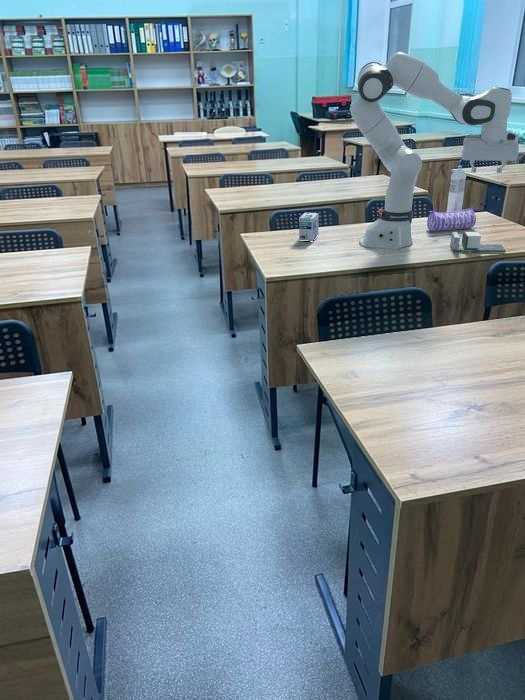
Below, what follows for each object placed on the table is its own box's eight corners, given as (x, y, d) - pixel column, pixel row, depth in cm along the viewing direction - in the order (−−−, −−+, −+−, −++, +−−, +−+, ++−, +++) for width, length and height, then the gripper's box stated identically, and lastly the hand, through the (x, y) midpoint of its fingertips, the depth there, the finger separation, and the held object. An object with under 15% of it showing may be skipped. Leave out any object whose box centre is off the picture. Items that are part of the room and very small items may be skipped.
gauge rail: (452, 252, 211) (454, 237, 208) (449, 246, 218) (451, 232, 215) (505, 253, 208) (508, 237, 205) (500, 247, 215) (503, 232, 212)
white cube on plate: (465, 249, 210) (466, 236, 207) (461, 242, 217) (463, 231, 215) (479, 249, 209) (481, 236, 206) (475, 243, 216) (477, 231, 214)
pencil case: (465, 225, 248) (468, 204, 243) (477, 229, 240) (480, 209, 235) (423, 229, 243) (425, 209, 239) (434, 234, 235) (436, 213, 231)
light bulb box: (313, 242, 231) (313, 218, 226) (298, 241, 234) (298, 217, 228) (318, 236, 240) (319, 212, 235) (304, 235, 242) (304, 212, 237)
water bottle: (461, 220, 254) (468, 166, 242) (446, 220, 255) (453, 167, 244) (459, 217, 260) (466, 164, 248) (445, 217, 261) (451, 164, 250)
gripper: (465, 135, 197) (459, 173, 204) (523, 135, 194) (515, 174, 200) (463, 133, 203) (457, 170, 209) (519, 133, 199) (511, 171, 206)
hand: (486, 172), depth 205 cm, fingers open, 8 cm apart
